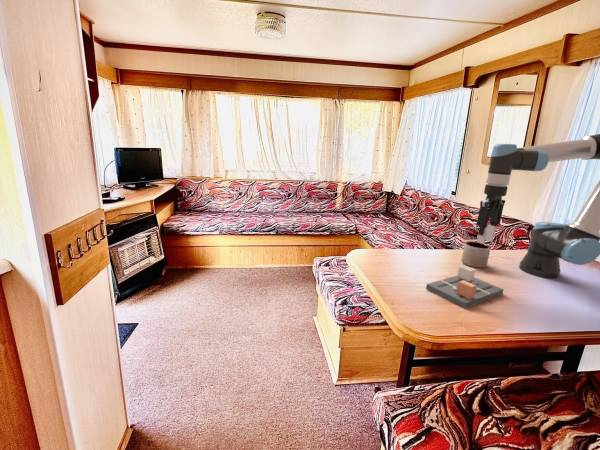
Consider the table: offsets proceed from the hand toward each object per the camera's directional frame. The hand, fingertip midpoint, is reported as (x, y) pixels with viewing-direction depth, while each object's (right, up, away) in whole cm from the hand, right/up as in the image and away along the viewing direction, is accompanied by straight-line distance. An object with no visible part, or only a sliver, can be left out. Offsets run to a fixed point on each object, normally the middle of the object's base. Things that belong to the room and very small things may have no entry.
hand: (484, 241), depth 129 cm
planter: (+8, -12, +22) cm, 27 cm away
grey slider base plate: (-12, -19, -7) cm, 23 cm away
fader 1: (-8, -15, 0) cm, 17 cm away
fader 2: (-16, -18, -15) cm, 28 cm away
